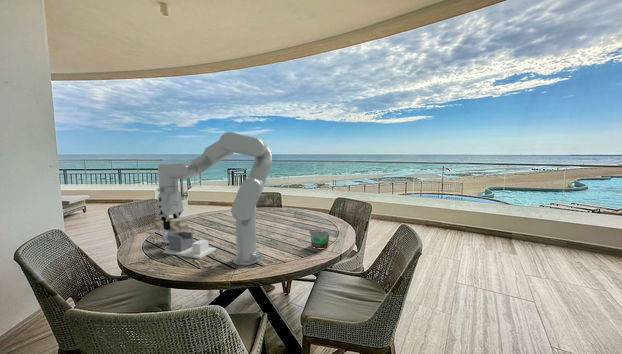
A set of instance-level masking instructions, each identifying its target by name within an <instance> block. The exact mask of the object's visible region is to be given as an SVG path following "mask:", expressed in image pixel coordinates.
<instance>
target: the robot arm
mask: <svg viewBox="0 0 622 354" xmlns="http://www.w3.org/2000/svg"><path fill="white" fill-rule="evenodd" d="M233 154H239V155H244V156H247V157H248V156H249V157H253V158H254V161H253V164H252V166H251V168H250V172H249V173H248V176H247V178H245V179H244V180H243V181H242V182H241V184H240V186H239V188H238V190H237V193H236V194H235V195H236V196H235V198H234V201H233V203H232V205H231V209H230V210H231V211H230V213H231V216H232V217H233V218H234V219H235V253H236V254H235V255H236V256H235V255H234V257H233V259H232V261H233V263H234V265H237V266H250V265H253V264H255V263H258V262H259V261H263V259H264V255H263V253H259V250H258V249H257V203H258V201H259V198H260V196H261V194H262V192H263V191H264V187H265V183H266V181H267V178H268V176H269V173H270V171H271V169H272V165H273V154H272V151H271V149H270V147H269V146H268V144H266V143H265V142H264V141H263V140H262V139H260V138H258V137H254V136H249V135H246V134H245V135H244V134H239V133H236V132H233V131H227V132H224V133H223V134H222V135H221V136H219V140H217V141H215V142H213V143H212V144H210V145H208V146H206V147H205V148H204V150H203V152H202V153H201V154H200V155H199V156H197V157H196V158H194V159H193V160H191V161H187V162H178V163H177V162H176V163H170V162H169V163H167V162H166V163H160V164H158V165H157V174H158V186H159V187H158V189H157V192H159V193H158V195H157V196H158V197H157V212H156V215H155V218H159V219H161V220H162V221H163V226H164V229H165V230H170V221H168V220H169V218H170V215H172V218H178V219H180V216H181V214H182V213H183V212H184V206H183V199H182V195H181V192H180V191H179V182H178V181H179V180H185V179H191V178H194V177H196V176H198V175H201V174H202V173H204V172H205V171H207V170H208V169H210V168H212V167H213V166H214V165H216V164H217V163H220V162H221V161H223V160H224V159H226V158H228V157H230V156H232V155H233ZM165 217H166V218H165Z"/></svg>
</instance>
